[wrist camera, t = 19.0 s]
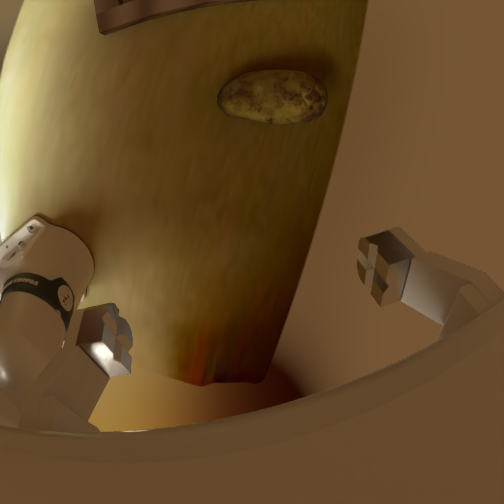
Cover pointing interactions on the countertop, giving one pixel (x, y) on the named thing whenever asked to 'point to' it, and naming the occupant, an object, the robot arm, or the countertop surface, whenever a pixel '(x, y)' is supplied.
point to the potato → (274, 97)
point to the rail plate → (143, 11)
